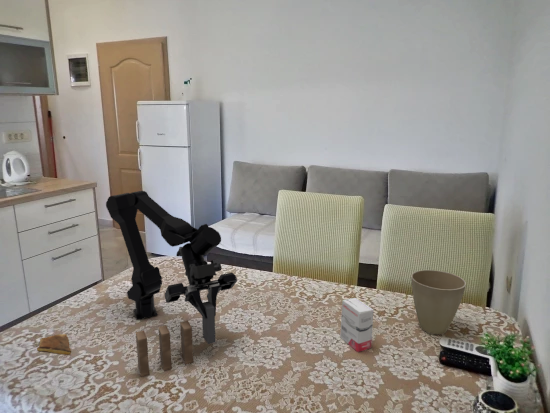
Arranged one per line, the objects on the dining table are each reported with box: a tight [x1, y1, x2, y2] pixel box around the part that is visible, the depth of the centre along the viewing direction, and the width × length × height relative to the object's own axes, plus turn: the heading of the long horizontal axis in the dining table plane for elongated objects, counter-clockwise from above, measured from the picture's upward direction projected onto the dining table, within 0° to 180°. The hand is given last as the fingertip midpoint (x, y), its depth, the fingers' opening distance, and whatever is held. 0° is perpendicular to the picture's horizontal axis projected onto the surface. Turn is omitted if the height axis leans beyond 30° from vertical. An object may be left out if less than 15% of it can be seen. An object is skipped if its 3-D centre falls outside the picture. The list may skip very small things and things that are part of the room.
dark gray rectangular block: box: [201, 300, 216, 345], centre depth 106 cm, size 2×4×10 cm, turn 30°
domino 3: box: [179, 320, 194, 365], centre depth 104 cm, size 2×4×10 cm, turn 27°
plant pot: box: [410, 269, 467, 335], centre depth 120 cm, size 15×15×16 cm
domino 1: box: [135, 329, 150, 378], centre depth 99 cm, size 2×4×10 cm, turn 27°
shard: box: [36, 333, 72, 356], centre depth 109 cm, size 11×8×2 cm
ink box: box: [340, 297, 374, 353], centre depth 112 cm, size 8×5×12 cm, turn 26°
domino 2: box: [158, 324, 173, 371], centre depth 102 cm, size 2×4×10 cm, turn 27°
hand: (210, 317), depth 104 cm, fingers closed on dark gray rectangular block, 2 cm apart
